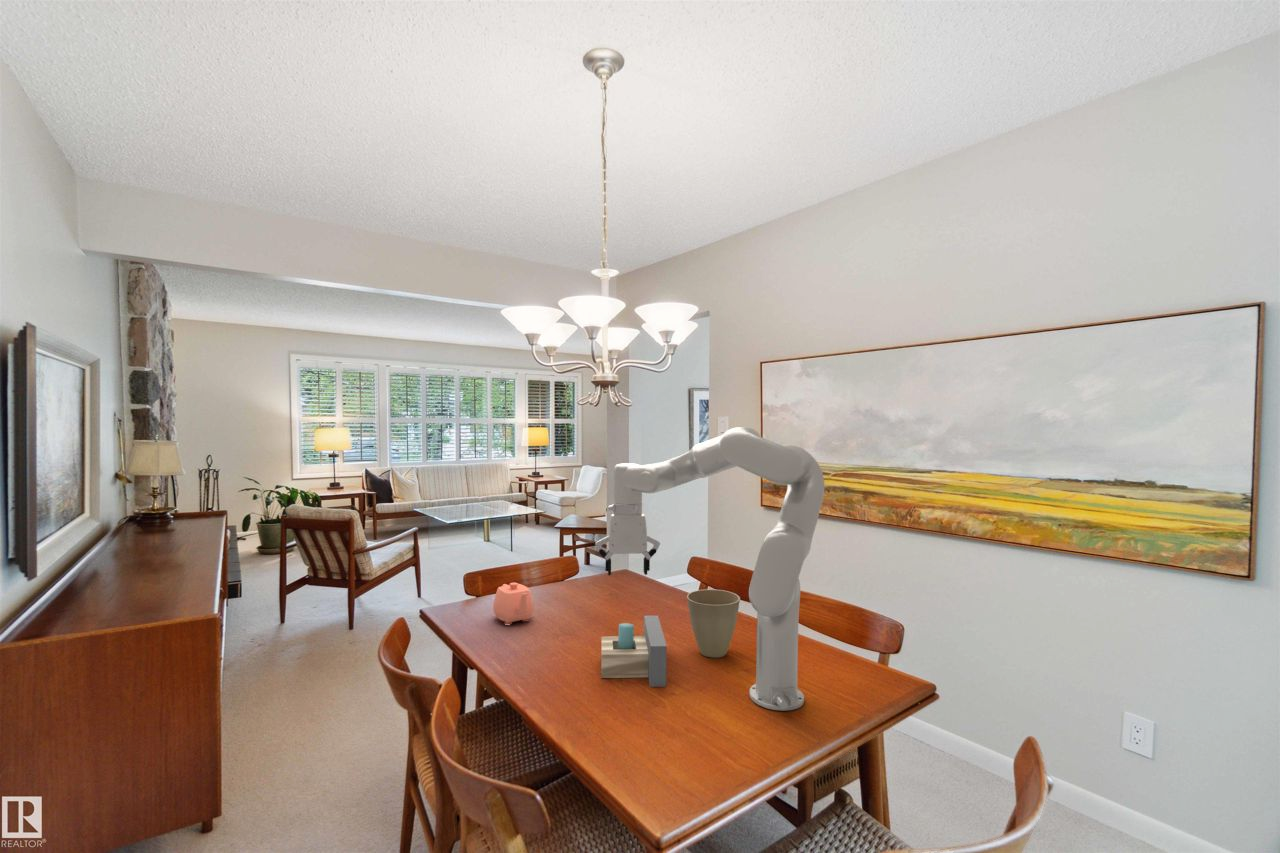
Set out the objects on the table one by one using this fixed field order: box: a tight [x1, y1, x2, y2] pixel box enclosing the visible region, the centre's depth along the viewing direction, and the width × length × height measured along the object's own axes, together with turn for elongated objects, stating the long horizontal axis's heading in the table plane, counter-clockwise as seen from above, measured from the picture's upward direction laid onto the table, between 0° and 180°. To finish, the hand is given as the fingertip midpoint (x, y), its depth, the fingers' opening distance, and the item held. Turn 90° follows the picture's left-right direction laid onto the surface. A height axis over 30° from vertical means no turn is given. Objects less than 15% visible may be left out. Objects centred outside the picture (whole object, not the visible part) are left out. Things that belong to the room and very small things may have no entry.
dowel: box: [617, 622, 635, 649], centre depth 149 cm, size 4×4×10 cm
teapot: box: [493, 582, 535, 625], centre depth 183 cm, size 20×12×12 cm, turn 35°
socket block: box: [600, 635, 649, 679], centre depth 149 cm, size 12×12×6 cm
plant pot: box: [686, 588, 741, 659], centre depth 159 cm, size 15×15×16 cm
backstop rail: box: [643, 615, 668, 688], centre depth 149 cm, size 22×4×10 cm, turn 4°
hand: (627, 573), depth 150 cm, fingers open, 9 cm apart
